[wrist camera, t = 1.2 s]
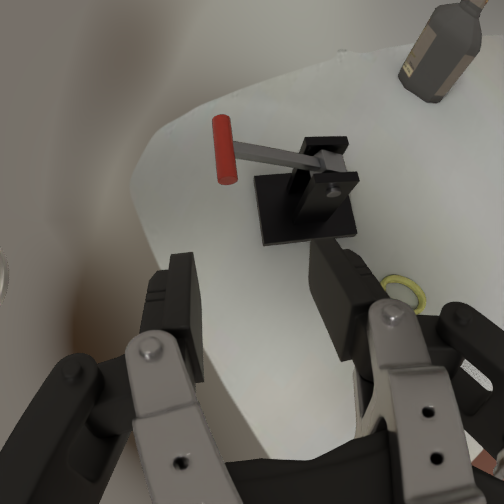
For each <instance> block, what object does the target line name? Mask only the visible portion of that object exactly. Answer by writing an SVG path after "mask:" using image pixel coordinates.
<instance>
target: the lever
mask: <svg viewBox="0 0 504 504" xmlns="http://www.w3.org/2000/svg"><path fill="white" fill-rule="evenodd" d="M212 127H213V138H214V149H215V159H216V169H217V180H218V183H219V184H221V185H231V184H234V183H236V182H237V181H238V176H237V168H236V160H235V159H242V160H249V161H255V162H262V163H268V164H274V165H280V166H286V167H292V168H297V169H303V170H308V171H310V175H311V177H312V175H313V174H314V173H333V172H347V169H346V166H345V162H344V159H343V155H342V154H338V153H334V152H330V151H326V150H320V151H319V152H318V153H316V154H315V155H314V156H309V155H304V154H299V153H295V152H290V151H285V150H280V149H275V148H270V147H264V146H259V145H253V144H248V143H242V142H236V141H233V136H232V128H231V120H230V117H229V116H227V115H224V114H221V115H217V116H215V117H214V118H213V119H212Z"/></svg>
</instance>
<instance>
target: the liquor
mask: <svg viewBox="0 0 504 504" xmlns="http://www.w3.org/2000/svg"><path fill="white" fill-rule="evenodd" d="M487 2H488V0H461V2H460V3H454V4H446V5H440V6H438V7H437V8H435V11H434V12H433V14H432V15H431V17H430V19H429V21H428V22H427V24H426V26H425V28H424V29H423V31H422V33H421V35H420V36H419V38H418V40H417V42H416V43H415V45H414V47H413V48H412V50H411V52H410V54H409V55H408V57H407V59H406V60H405V62H404V64H403V66H402V68H401V70H400V72H399V74H398V75H399V79H400V81H401V82H402V84H403V86H404V88H406V89H407V90H409V91H410V92H412V93H413V94H415V95H416V96H418V97H419V98H421V99H422V100H424V101H425V102H432V103H436V102H440V101H441V99H442V98H443V97H444V96H445V94H446V93H447V92H448V91H449V90H450V88H451V87H452V86H453V85H454V83H455V82H456V81H457V79H458V78H459V77H460V76H461V74H462V73H463V72H464V71H465V69H466V68H467V67H468V66H469V64H470V63H471V62H472V60H473V59H474V58H475V57H476V55H477V54H478V53H479V51H480V48H481V40H482V33H481V28H480V23H479V17H480V13H481V11H482V9H483V8H484V6H485V5H486V3H487Z"/></svg>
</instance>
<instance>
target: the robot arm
mask: <svg viewBox="0 0 504 504" xmlns="http://www.w3.org/2000/svg"><path fill="white" fill-rule="evenodd" d="M308 278H309V287H310V291H311V294H312V297H313V299H314V301H315V303H316V306H317V308H318V310H319V312H320V315H321V317H322V319H323V322H324V324H325V326H326V328H327V331H328V333H329V335H330V338H331V340H332V342H333V345H334V347H335V349H336V352H337V354H338V356H339V359H340V361H341V362H343V361H347V360H353V362H354V365H355V367H354V371H353V385H354V397H355V411H356V432H355V437H354V439H353V440H350V441H349V442H347V443H345V444H343V445H341V446H339V447H337V448H335V449H333V450H331V451H329V452H327V453H325V454H323V455H321V456H319V457H317V458H315V459H312V460H306V461H304V460H278V459H263V458H261V459H253V460H246V461H236V462H226V463H224V461H223V459H222V457H221V455H220V452H219V450H218V447H217V445H216V443H215V440H214V438H213V435H212V433H211V431H210V428H209V426H208V423H207V421H206V418H205V416H204V413H203V411H202V408H201V406H200V403H199V401H198V400H197V397H196V388H195V387H196V386H195V383H200V382H204V368H203V341H202V306H201V295H200V289H199V283H198V277H197V272H196V266H195V260H194V255H193V252H187V253H178V254H171V256H170V263H169V270H160V271H157V272H156V273H155V274H154V275H153V277H152V278H151V279H150V280H149V284H148V289H147V294H146V299H145V300H146V302H145V305H144V310H143V315H142V321H141V326H140V332H139V335H137V336H136V337H134V338H133V339H132V340H131V341H130V342H129V343H128V345H127V347H126V350H125V354H123V355H121V356H120V357H117V358H114V359H111V360H108V361H104V362H101V363H98V364H97V363H96V362H95V360H94V359H93V358H92V357H91V356H89V355H87V354H84V353H76V354H71V355H68V356H66V357H65V358H63V359H61V360H60V361H59V362H58V363H57V364H56V365H55V367H54V368H53V370H52V371H51V372H50V374H49V376H48V377H47V378H46V380H45V381H44V383H43V384H42V386H41V387H40V389H39V390H38V392H37V393H36V395H35V396H34V398H33V399H32V401H31V403H30V404H29V406H28V407H27V409H26V410H25V412H24V413H23V415H22V417H21V418H20V420H19V421H18V423H17V425H16V426H15V428H14V430H13V431H12V433H11V435H10V436H9V438H8V440H7V441H6V443H5V445H4V446H3V448H2V450H1V452H0V504H99V502H100V500H101V498H102V495H103V493H104V491H105V488H106V486H107V484H108V482H109V480H110V477H111V475H112V473H113V471H114V468H115V466H116V464H117V461H118V460H119V457H120V455H121V453H122V451H123V449H124V446H125V444H126V442H127V440H128V438H129V435H130V433H131V431H133V432H134V436H135V441H136V445H137V449H138V453H139V457H140V461H141V465H142V469H143V473H144V476H145V480H146V484H147V487H148V490H149V494H150V497H151V500H152V504H504V481H503V479H504V331H503V330H502V329H501V328H499V327H498V326H497V325H495V324H494V323H493V322H491V321H490V320H489V319H487V318H486V317H485V316H483V315H482V314H481V313H479V312H478V311H477V310H475V309H474V308H473V307H471V306H469V305H467V304H465V303H462V302H450V303H447V304H445V305H444V306H443V308H442V310H441V313H440V315H439V316H433V315H416V314H415V312H414V310H413V309H412V308H411V307H410V306H409V305H408V304H406V303H404V302H402V301H400V300H397V299H391V298H390V297H389V296H388V294H387V293H386V291H385V290H384V289H383V287H382V286H381V284H380V283H379V281H378V280H377V279H376V277H375V276H374V275H373V274H372V272H371V270H370V269H369V268H368V267H367V265H366V264H365V262H364V261H363V259H362V258H361V257H360V256H359V255H357V254H356V253H354V252H353V251H351V250H350V249H344V250H343V249H342V248H341V247H340V245H339V244H338V242H337V241H336V239H335V238H334V237H324V238H315V239H312V240H311V242H310V258H309V276H308ZM464 359H466V360H468V361H469V362H470V363H471V364H472V365H473V366H475V367H476V368H477V369H478V370H479V371H480V372H482V373H483V374H484V375H485V376H486V377H487V378H488V379H489V380H490V381H491V383H492V385H493V391H488V390H486V389H485V388H484V387H483V386H481V385H480V384H479V383H478V382H477V381H476V380H475V379H474V378H472V377H471V376H470V375H469V374H468V373H467V372H466V371H464V370H463V369H462V368H461V367H460V366H461V365H462V363H463V361H464ZM464 430H465V431H467V432H468V433H469V434H470V435H471V436H472V437H473V438H474V439H475V440H476V441H477V442H478V443H479V444H480V445H481V446H482V447H483V448H484V449H485V450H486V451H487V452H488V453H489V454H490V455H491V456H492V457H493V458H494V459H495V460H496V461H497V465H496V466H495V468H494V471H493V474H494V476H492V475H491V474H488V473H486V472H484V471H482V470H480V469H478V468H476V467H474V466H472V465H471V460H470V455H469V450H468V446H467V441H466V437H465V433H464Z"/></svg>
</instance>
